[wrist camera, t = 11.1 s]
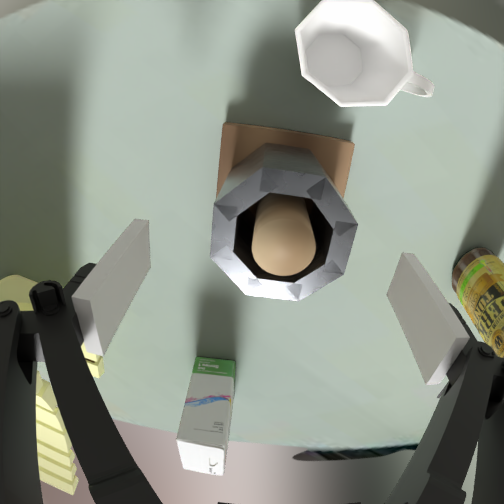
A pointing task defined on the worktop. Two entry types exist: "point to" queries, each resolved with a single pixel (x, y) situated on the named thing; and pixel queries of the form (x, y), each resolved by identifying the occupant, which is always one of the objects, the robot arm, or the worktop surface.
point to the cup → (357, 54)
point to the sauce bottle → (482, 294)
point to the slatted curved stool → (49, 404)
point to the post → (280, 205)
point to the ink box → (207, 416)
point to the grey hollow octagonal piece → (243, 221)
